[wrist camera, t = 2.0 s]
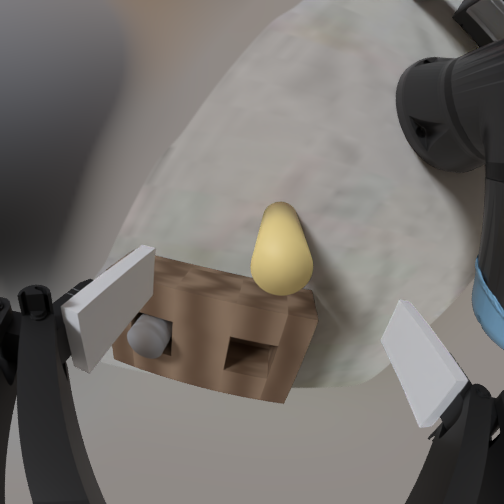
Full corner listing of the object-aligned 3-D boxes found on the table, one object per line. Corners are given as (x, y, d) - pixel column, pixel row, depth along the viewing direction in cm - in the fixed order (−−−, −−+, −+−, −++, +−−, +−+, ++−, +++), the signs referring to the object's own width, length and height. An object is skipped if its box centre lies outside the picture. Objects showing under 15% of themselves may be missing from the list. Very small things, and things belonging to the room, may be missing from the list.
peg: (301, 206, 31) (320, 245, 17) (293, 238, 32) (303, 300, 18) (266, 198, 31) (257, 231, 17) (259, 231, 32) (245, 288, 18)
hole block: (311, 290, 34) (320, 331, 26) (283, 369, 39) (283, 414, 30) (133, 250, 35) (96, 276, 26) (134, 332, 39) (107, 367, 31)
